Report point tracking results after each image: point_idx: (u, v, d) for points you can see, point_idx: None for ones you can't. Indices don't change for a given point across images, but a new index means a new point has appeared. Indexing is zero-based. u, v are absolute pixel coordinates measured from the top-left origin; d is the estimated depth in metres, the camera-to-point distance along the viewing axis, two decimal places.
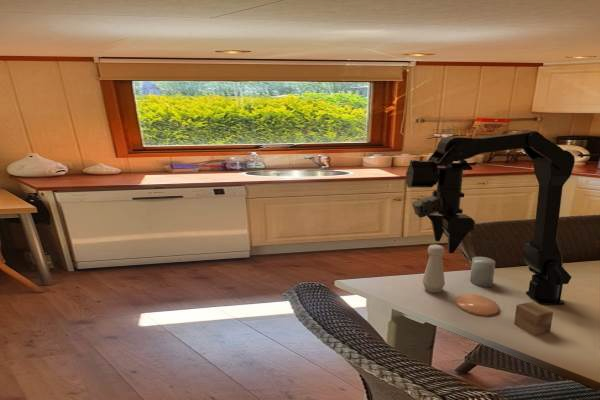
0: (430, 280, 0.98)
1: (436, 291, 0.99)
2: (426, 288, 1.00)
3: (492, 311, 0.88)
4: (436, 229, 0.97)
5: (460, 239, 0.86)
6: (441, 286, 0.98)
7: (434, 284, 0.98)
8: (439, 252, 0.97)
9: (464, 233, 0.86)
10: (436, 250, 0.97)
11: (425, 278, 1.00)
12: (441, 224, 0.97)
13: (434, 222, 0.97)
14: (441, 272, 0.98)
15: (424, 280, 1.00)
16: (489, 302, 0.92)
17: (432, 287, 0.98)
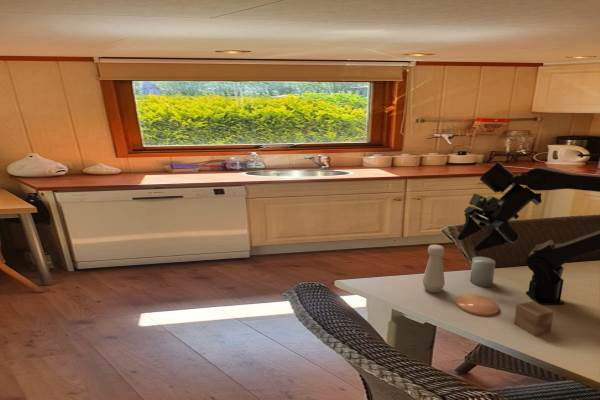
0: (430, 280, 0.98)
1: (436, 291, 0.99)
2: (426, 288, 1.00)
3: (492, 311, 0.88)
4: (465, 230, 1.03)
5: (492, 244, 0.92)
6: (441, 286, 0.98)
7: (434, 284, 0.98)
8: (439, 252, 0.97)
9: (499, 242, 0.92)
10: (436, 250, 0.97)
11: (425, 278, 1.00)
12: (471, 229, 1.03)
13: (468, 223, 1.02)
14: (441, 272, 0.98)
15: (424, 280, 1.00)
16: (489, 302, 0.92)
17: (432, 287, 0.98)
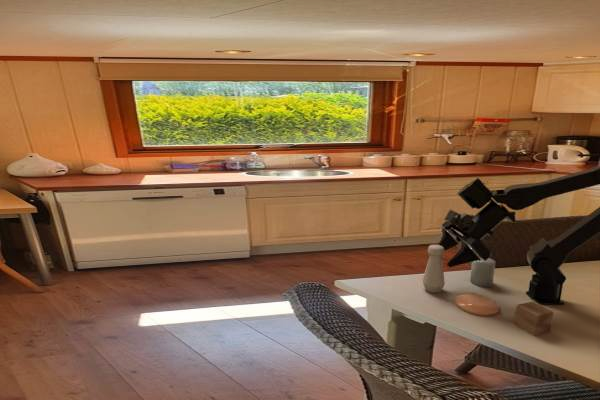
0: (430, 280, 0.98)
1: (436, 291, 0.99)
2: (426, 288, 1.00)
3: (492, 311, 0.88)
4: (442, 244, 1.04)
5: (465, 261, 0.93)
6: (441, 286, 0.98)
7: (434, 284, 0.98)
8: (439, 252, 0.97)
9: (472, 259, 0.93)
10: (436, 250, 0.97)
11: (425, 278, 1.00)
12: (448, 244, 1.04)
13: (445, 238, 1.03)
14: (441, 272, 0.98)
15: (424, 280, 1.00)
16: (489, 302, 0.92)
17: (432, 287, 0.98)
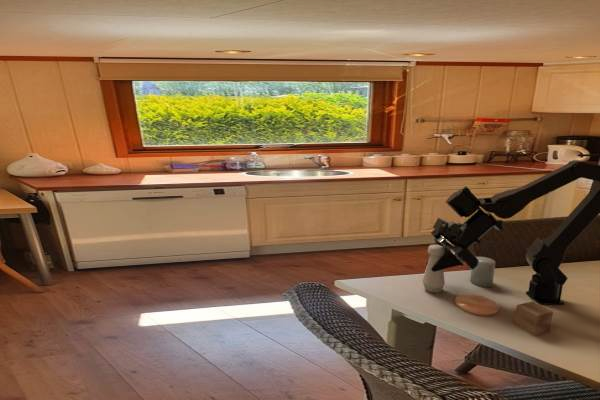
0: (430, 280, 0.98)
1: (436, 291, 0.99)
2: (426, 288, 1.00)
3: (492, 311, 0.88)
4: None
5: (448, 266, 0.96)
6: (441, 286, 0.98)
7: (434, 284, 0.98)
8: (439, 252, 0.97)
9: (455, 264, 0.96)
10: (436, 250, 0.97)
11: (425, 278, 1.00)
12: None
13: None
14: (441, 272, 0.98)
15: (424, 280, 1.00)
16: (489, 302, 0.92)
17: (432, 286, 0.98)
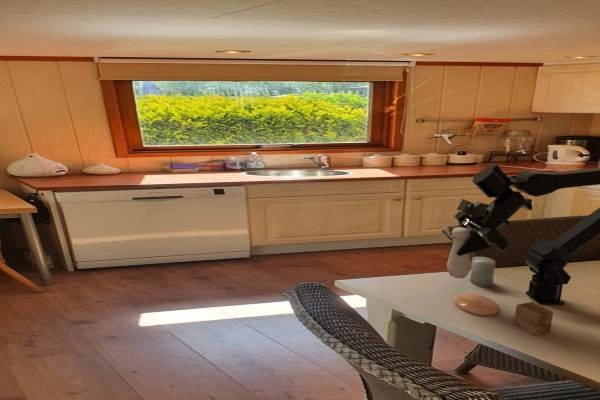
0: (455, 265, 0.93)
1: (462, 276, 0.93)
2: (451, 273, 0.95)
3: (492, 311, 0.88)
4: None
5: (475, 249, 0.91)
6: (467, 271, 0.93)
7: (459, 268, 0.92)
8: (464, 235, 0.91)
9: (483, 246, 0.90)
10: (461, 233, 0.91)
11: (449, 263, 0.94)
12: None
13: None
14: (467, 256, 0.93)
15: (448, 265, 0.95)
16: (489, 302, 0.92)
17: (457, 272, 0.93)
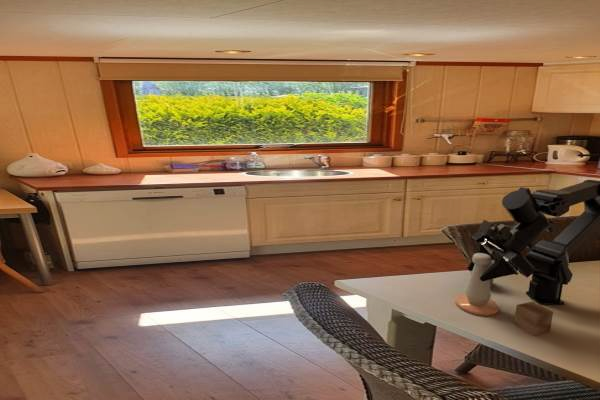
0: (476, 292, 0.90)
1: (482, 304, 0.90)
2: (470, 301, 0.92)
3: (492, 311, 0.88)
4: None
5: (500, 275, 0.86)
6: (488, 299, 0.90)
7: (480, 296, 0.89)
8: (486, 261, 0.88)
9: (508, 272, 0.85)
10: (483, 259, 0.88)
11: (469, 290, 0.91)
12: None
13: None
14: (488, 283, 0.89)
15: (468, 292, 0.91)
16: (489, 302, 0.92)
17: (478, 299, 0.89)
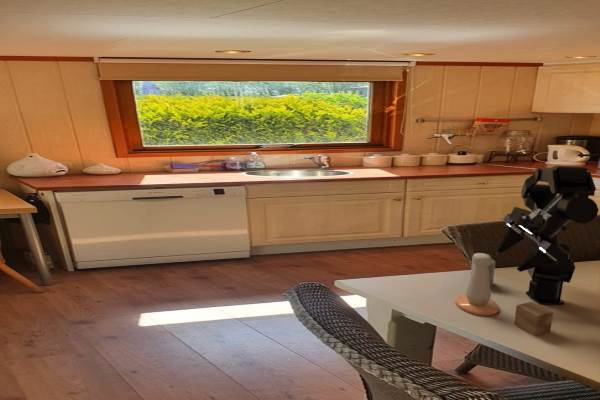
0: (476, 292, 0.90)
1: (482, 304, 0.90)
2: (470, 301, 0.92)
3: (492, 311, 0.88)
4: (506, 242, 0.95)
5: (538, 264, 0.85)
6: (488, 299, 0.90)
7: (480, 296, 0.89)
8: (486, 261, 0.88)
9: (546, 262, 0.84)
10: (483, 259, 0.88)
11: (469, 290, 0.91)
12: (513, 240, 0.95)
13: (509, 235, 0.94)
14: (488, 283, 0.89)
15: (468, 292, 0.91)
16: (489, 302, 0.92)
17: (478, 299, 0.89)
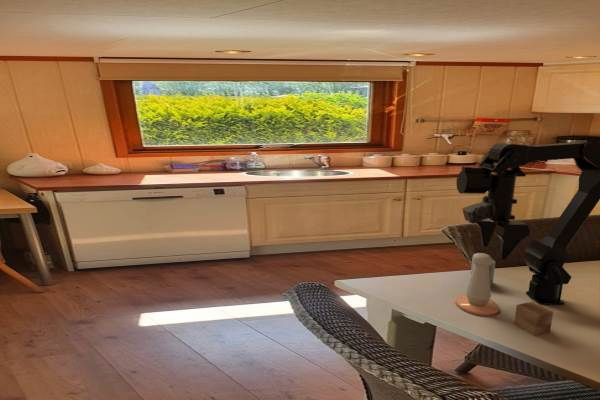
0: (476, 292, 0.90)
1: (482, 304, 0.90)
2: (470, 301, 0.92)
3: (492, 311, 0.88)
4: (484, 235, 0.97)
5: (514, 245, 0.87)
6: (488, 299, 0.90)
7: (480, 296, 0.89)
8: (486, 261, 0.88)
9: (518, 239, 0.86)
10: (483, 259, 0.88)
11: (469, 290, 0.91)
12: (489, 230, 0.97)
13: (482, 228, 0.97)
14: (488, 283, 0.89)
15: (468, 292, 0.91)
16: (489, 302, 0.92)
17: (478, 299, 0.89)
